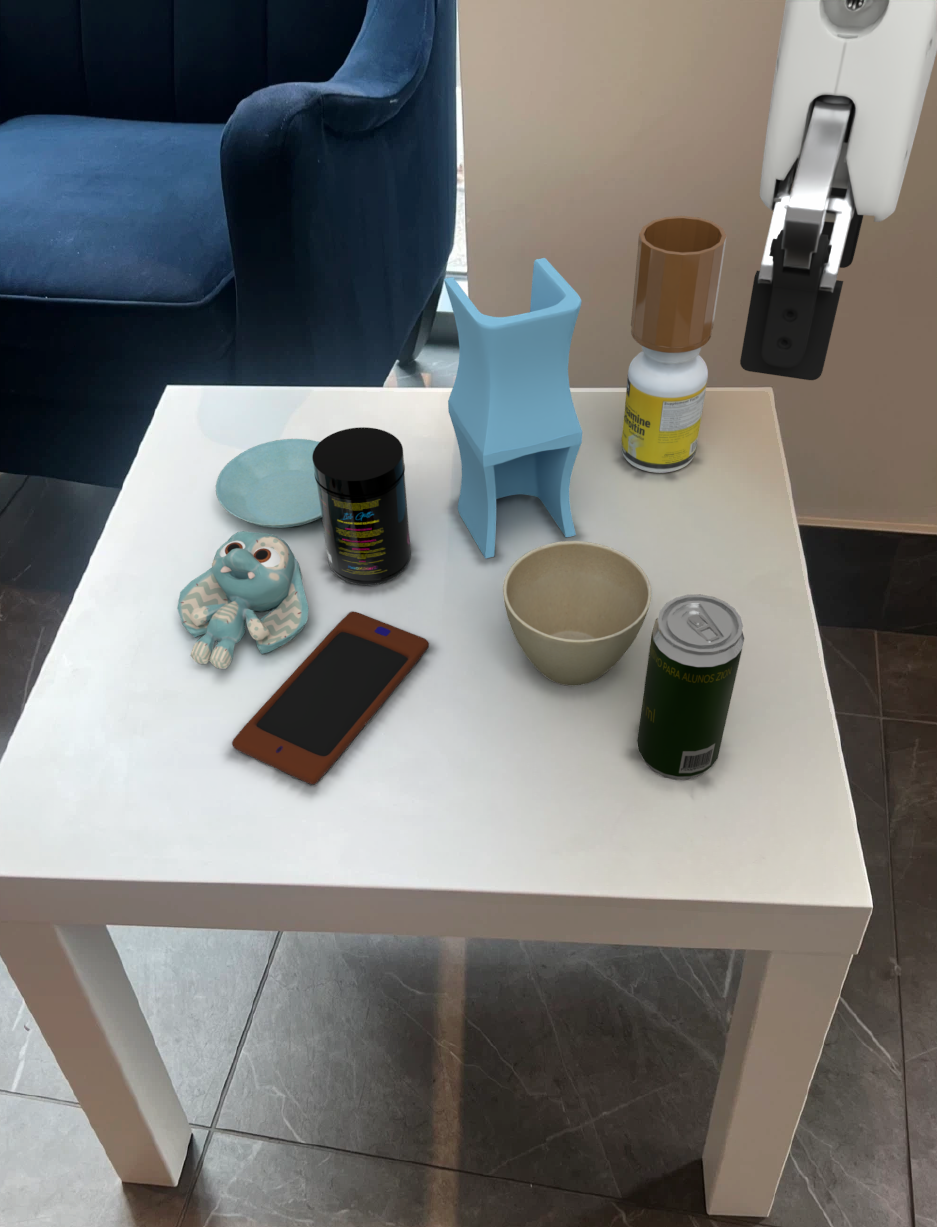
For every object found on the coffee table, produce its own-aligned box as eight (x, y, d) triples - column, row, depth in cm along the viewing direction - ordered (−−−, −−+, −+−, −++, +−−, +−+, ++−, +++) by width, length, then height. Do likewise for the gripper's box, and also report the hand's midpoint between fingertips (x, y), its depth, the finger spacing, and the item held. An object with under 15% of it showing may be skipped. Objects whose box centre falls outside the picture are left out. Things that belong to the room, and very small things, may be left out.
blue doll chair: (538, 480, 95) (545, 256, 80) (576, 535, 90) (590, 305, 75) (452, 502, 93) (442, 278, 79) (484, 558, 88) (481, 329, 74)
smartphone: (431, 638, 81) (313, 780, 72) (431, 647, 82) (315, 789, 73) (350, 606, 84) (228, 740, 75) (351, 616, 84) (230, 749, 76)
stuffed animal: (123, 614, 78) (197, 490, 84) (155, 670, 84) (223, 550, 90) (258, 647, 75) (326, 516, 81) (282, 702, 81) (344, 577, 87)
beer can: (734, 764, 73) (766, 635, 64) (666, 795, 71) (688, 667, 63) (686, 710, 76) (710, 580, 67) (620, 739, 75) (635, 610, 66)
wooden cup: (682, 305, 91) (694, 209, 85) (727, 340, 87) (743, 241, 81) (616, 325, 89) (623, 228, 84) (658, 361, 85) (670, 261, 80)
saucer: (384, 508, 93) (382, 486, 92) (261, 564, 89) (257, 542, 88) (314, 444, 100) (310, 422, 99) (197, 493, 96) (191, 472, 95)
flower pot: (483, 692, 78) (482, 619, 73) (528, 601, 85) (529, 528, 79) (621, 728, 75) (629, 655, 70) (656, 631, 82) (667, 557, 76)
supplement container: (422, 577, 87) (414, 468, 80) (339, 598, 86) (323, 489, 78) (398, 527, 92) (389, 419, 84) (319, 545, 90) (302, 438, 83)
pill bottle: (621, 431, 99) (631, 311, 91) (694, 434, 98) (712, 313, 90) (619, 475, 95) (630, 353, 86) (696, 478, 94) (715, 355, 86)
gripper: (1019, -113, 29) (865, 439, 41) (1034, -231, 40) (909, 235, 52) (729, -119, 31) (666, 407, 43) (818, -230, 42) (747, 218, 54)
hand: (798, 313), depth 48 cm, fingers open, 9 cm apart
